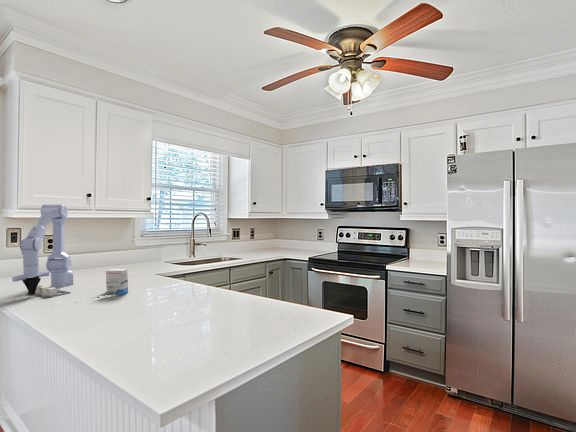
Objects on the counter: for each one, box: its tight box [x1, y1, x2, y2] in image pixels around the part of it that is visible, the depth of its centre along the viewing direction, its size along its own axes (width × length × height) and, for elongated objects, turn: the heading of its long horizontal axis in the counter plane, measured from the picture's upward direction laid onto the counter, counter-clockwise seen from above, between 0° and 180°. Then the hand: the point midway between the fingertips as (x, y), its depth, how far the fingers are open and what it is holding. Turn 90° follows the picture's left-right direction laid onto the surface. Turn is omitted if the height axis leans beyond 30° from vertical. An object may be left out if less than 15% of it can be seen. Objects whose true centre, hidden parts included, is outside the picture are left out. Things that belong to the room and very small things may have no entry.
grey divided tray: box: [27, 289, 71, 299], centre depth 163 cm, size 10×17×2 cm, turn 62°
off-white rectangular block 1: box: [35, 284, 44, 293], centre depth 164 cm, size 3×3×4 cm
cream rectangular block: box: [39, 285, 51, 295], centre depth 162 cm, size 3×3×4 cm
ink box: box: [105, 268, 129, 296], centre depth 168 cm, size 9×5×12 cm, turn 84°
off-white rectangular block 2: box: [46, 287, 58, 296], centre depth 159 cm, size 3×3×4 cm
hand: (31, 294), depth 157 cm, fingers closed
